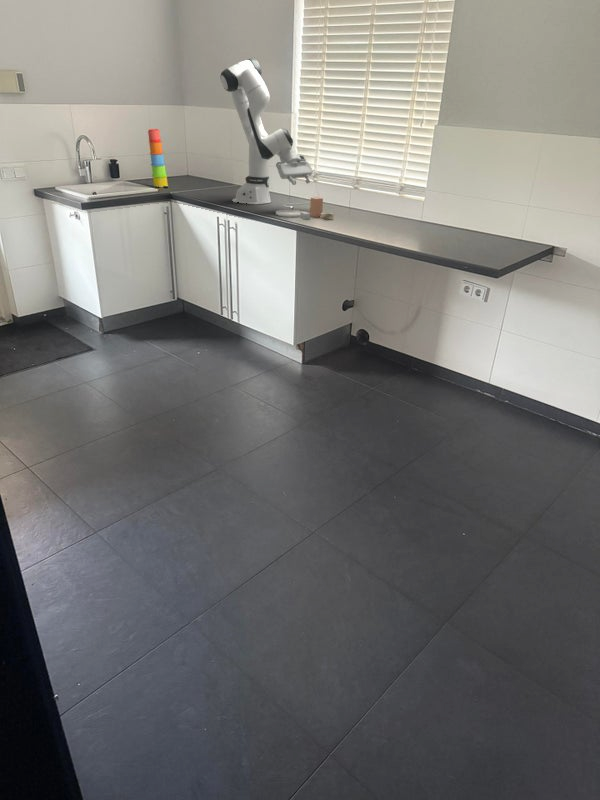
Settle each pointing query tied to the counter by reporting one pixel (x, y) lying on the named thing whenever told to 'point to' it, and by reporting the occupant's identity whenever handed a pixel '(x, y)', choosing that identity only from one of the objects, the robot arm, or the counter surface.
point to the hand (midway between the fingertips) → (301, 183)
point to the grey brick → (305, 215)
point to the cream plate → (288, 213)
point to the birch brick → (327, 215)
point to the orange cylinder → (316, 206)
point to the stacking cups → (157, 158)
